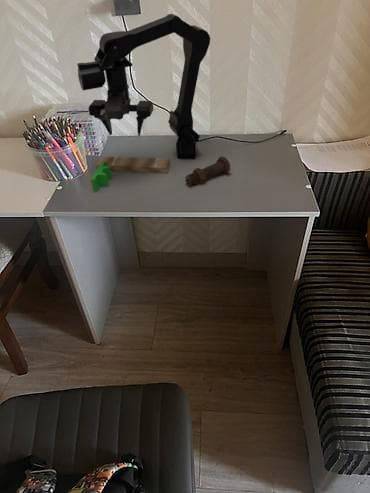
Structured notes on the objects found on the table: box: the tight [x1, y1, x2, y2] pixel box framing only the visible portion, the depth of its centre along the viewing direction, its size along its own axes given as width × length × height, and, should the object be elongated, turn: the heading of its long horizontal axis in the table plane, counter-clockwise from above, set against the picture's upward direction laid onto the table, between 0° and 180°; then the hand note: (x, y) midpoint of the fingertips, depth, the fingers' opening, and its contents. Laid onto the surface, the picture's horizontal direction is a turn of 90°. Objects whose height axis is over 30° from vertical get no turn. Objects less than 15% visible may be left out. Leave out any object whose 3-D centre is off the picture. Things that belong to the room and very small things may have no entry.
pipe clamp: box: [90, 161, 114, 193], centre depth 119 cm, size 11×4×5 cm, turn 172°
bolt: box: [184, 156, 231, 186], centre depth 119 cm, size 6×5×15 cm
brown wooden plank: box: [95, 155, 171, 174], centre depth 126 cm, size 24×6×2 cm, turn 82°
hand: (125, 135), depth 118 cm, fingers open, 9 cm apart
